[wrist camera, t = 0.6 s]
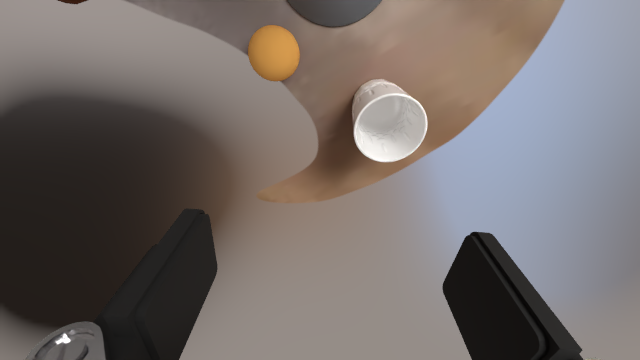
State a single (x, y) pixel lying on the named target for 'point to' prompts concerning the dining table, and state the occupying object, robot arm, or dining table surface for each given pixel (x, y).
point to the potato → (72, 1)
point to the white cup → (387, 121)
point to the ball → (273, 53)
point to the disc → (334, 10)
